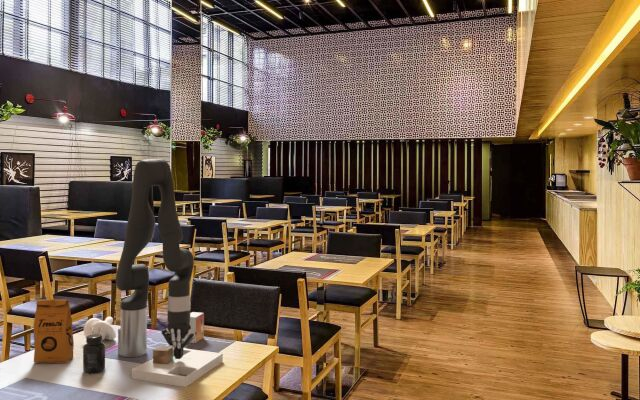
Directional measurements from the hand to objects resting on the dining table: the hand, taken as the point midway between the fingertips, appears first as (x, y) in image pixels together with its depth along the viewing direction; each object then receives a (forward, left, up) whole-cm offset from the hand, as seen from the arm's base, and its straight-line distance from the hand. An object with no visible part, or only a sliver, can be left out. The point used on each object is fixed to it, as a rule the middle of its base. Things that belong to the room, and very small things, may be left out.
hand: (178, 358), depth 173 cm
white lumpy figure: (-46, +16, -4) cm, 49 cm away
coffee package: (-46, -8, -4) cm, 47 cm away
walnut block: (-5, -2, -1) cm, 5 cm away
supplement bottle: (-26, -11, -4) cm, 28 cm away
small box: (-13, +30, -4) cm, 33 cm away
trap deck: (0, 0, -4) cm, 4 cm away
